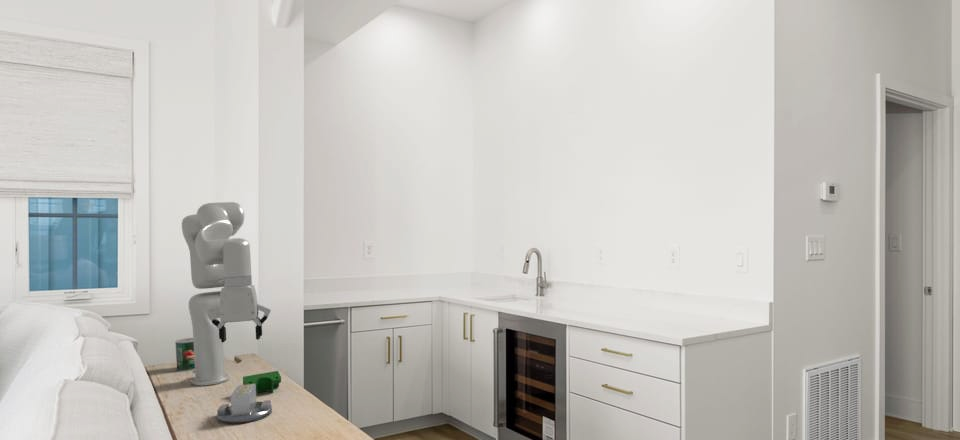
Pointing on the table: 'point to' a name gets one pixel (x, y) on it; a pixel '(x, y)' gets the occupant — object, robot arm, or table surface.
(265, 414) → the shallow grey dish
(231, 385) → the table surface
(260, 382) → the clamp
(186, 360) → the canned tomato
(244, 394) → the striped grey block
